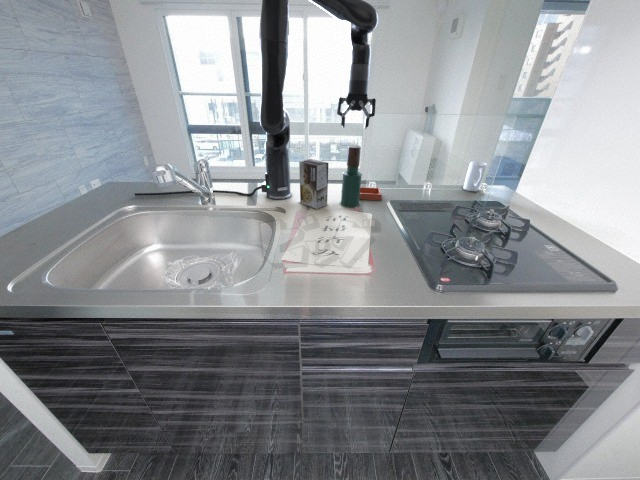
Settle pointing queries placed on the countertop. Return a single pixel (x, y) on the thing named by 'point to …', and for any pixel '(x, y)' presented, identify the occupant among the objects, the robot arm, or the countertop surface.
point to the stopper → (353, 156)
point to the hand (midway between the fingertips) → (354, 127)
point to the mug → (474, 175)
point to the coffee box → (313, 183)
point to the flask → (351, 187)
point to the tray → (370, 193)
